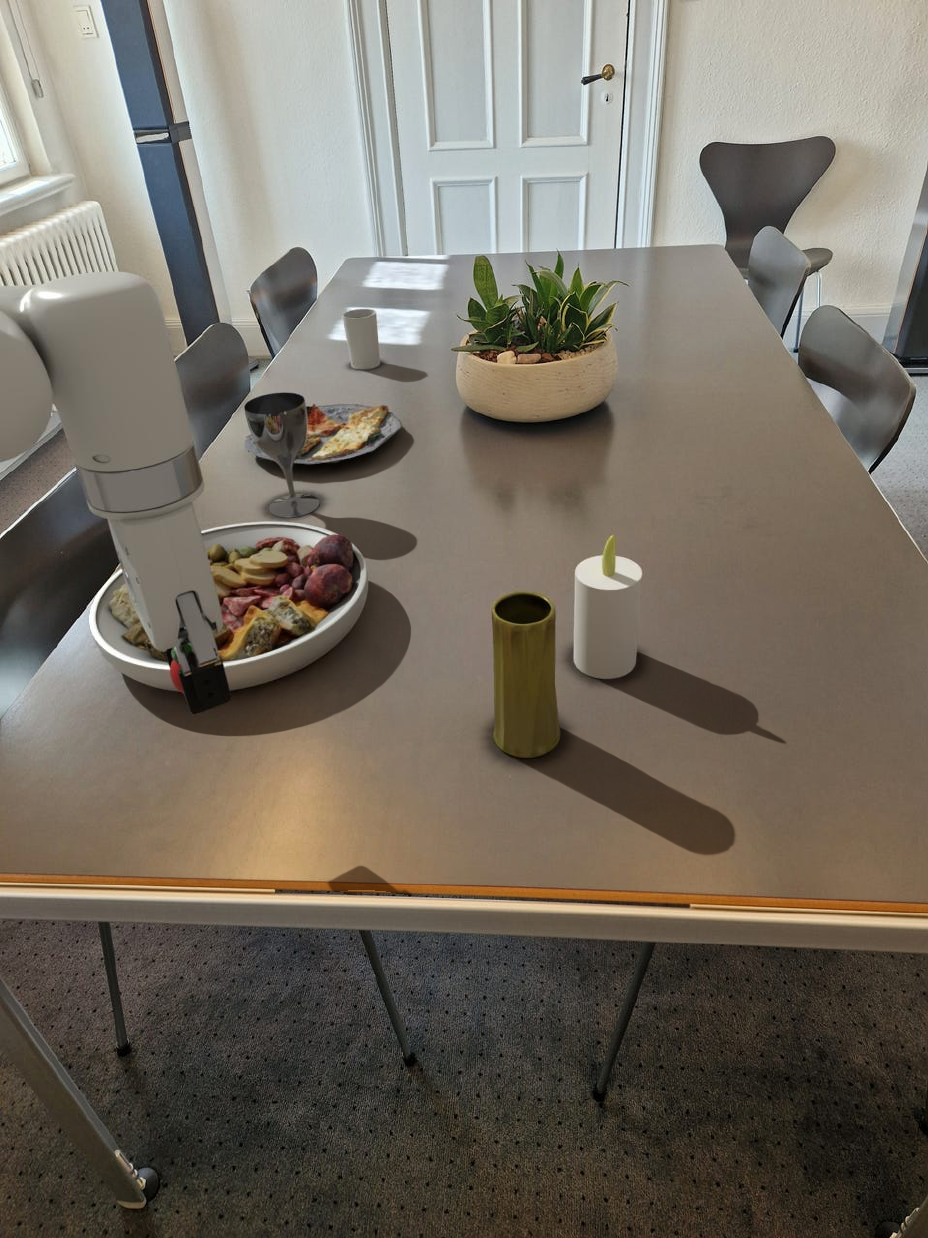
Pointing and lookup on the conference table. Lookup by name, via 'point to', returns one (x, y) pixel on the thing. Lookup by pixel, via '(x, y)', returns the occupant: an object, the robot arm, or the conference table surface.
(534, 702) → the vase
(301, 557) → the bowl
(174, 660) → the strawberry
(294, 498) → the wine glass
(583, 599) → the candle
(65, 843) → the conference table surface
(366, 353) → the white cup
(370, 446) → the food plate
